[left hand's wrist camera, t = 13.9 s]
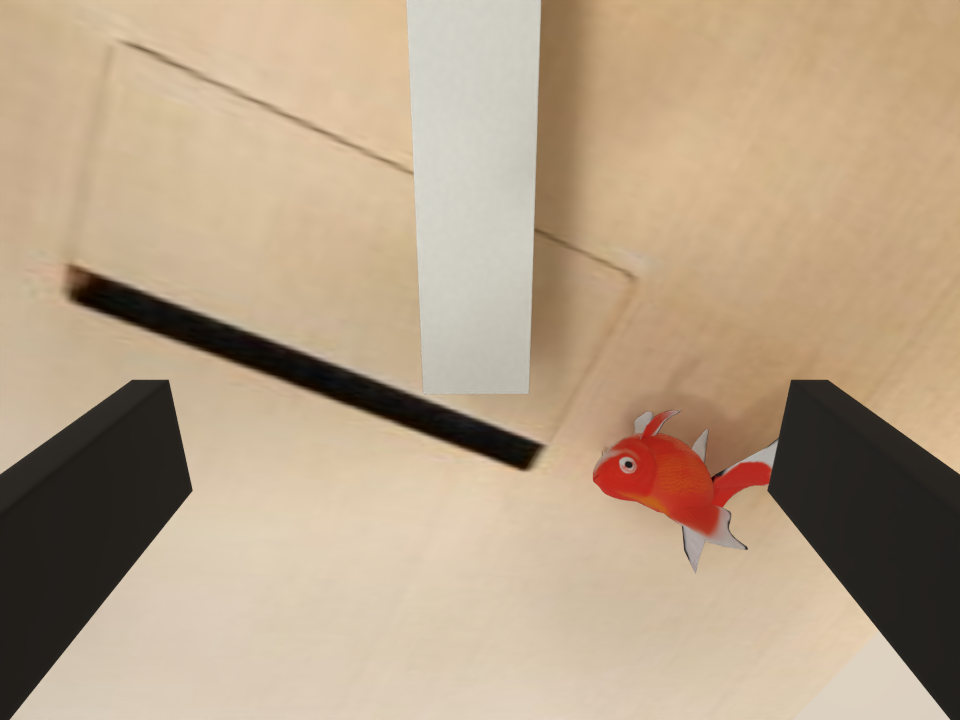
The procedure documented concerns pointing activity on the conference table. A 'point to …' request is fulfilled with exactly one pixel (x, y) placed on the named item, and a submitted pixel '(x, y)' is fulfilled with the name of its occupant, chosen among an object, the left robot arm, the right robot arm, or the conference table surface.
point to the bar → (474, 189)
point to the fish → (679, 481)
